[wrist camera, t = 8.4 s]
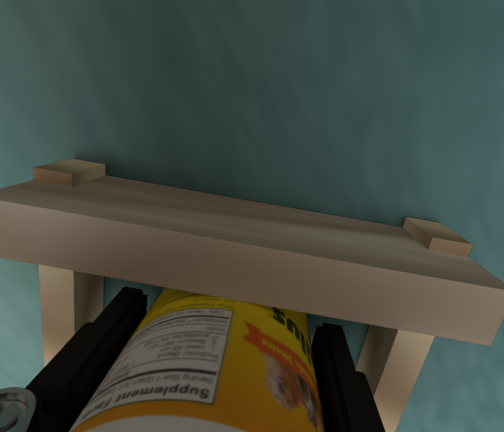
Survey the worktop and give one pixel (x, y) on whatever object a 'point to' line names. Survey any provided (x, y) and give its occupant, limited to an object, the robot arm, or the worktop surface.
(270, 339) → the supplement bottle
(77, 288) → the wooden frame
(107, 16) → the worktop surface
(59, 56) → the worktop surface
